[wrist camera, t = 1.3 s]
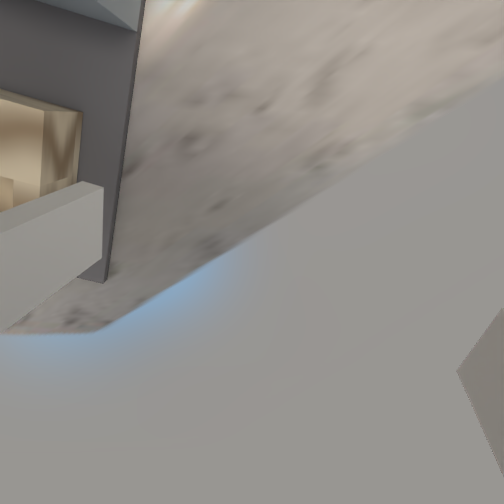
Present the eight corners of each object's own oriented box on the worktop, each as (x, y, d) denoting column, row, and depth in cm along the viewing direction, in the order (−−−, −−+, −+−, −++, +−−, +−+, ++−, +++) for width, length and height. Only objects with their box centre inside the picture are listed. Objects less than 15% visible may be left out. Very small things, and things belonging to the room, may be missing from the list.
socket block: (71, 240, 33) (35, 264, 28) (-26, 216, 32) (-83, 236, 27) (83, 112, 29) (44, 110, 24) (-28, 80, 28) (-96, 71, 23)
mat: (106, 279, 36) (103, 283, 35) (-54, 241, 35) (-62, 245, 34) (146, -6, 27) (142, -11, 26) (-69, -77, 25) (-81, -84, 25)
